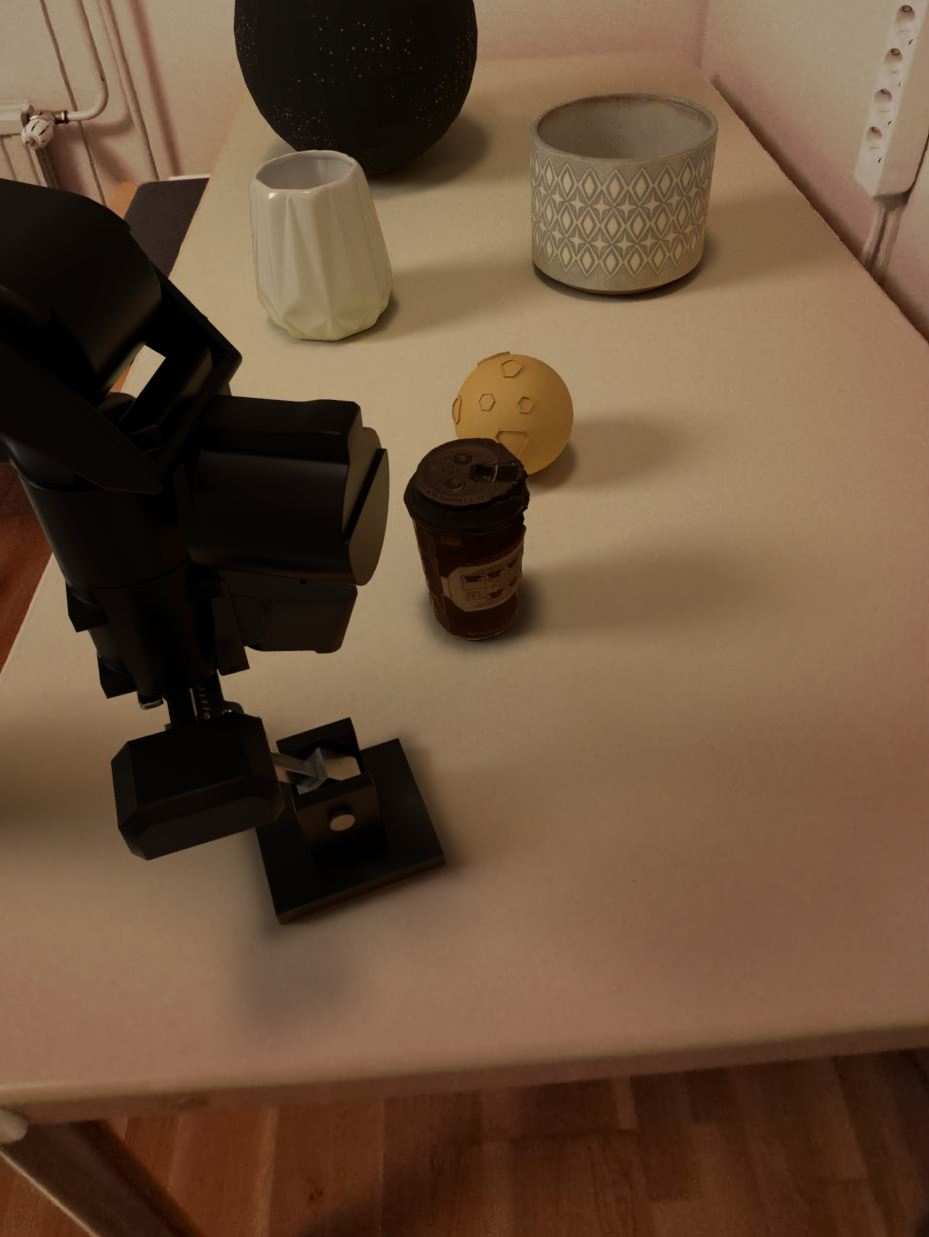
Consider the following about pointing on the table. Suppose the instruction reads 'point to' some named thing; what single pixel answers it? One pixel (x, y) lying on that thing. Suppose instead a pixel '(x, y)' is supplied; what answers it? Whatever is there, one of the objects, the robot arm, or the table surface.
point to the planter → (620, 190)
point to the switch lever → (311, 767)
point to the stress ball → (516, 408)
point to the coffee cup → (470, 533)
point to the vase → (318, 245)
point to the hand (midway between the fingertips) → (213, 765)
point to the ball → (358, 72)
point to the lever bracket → (346, 827)
